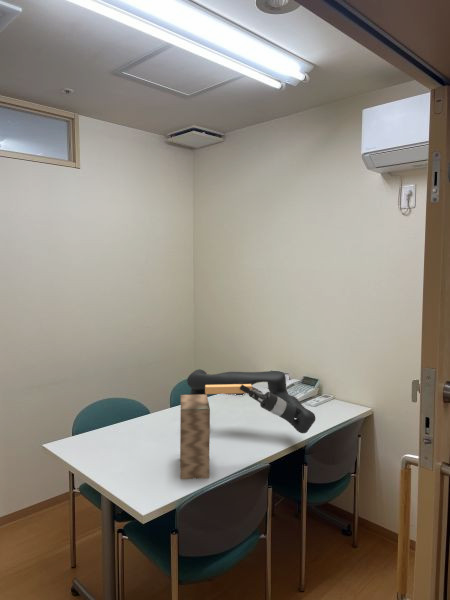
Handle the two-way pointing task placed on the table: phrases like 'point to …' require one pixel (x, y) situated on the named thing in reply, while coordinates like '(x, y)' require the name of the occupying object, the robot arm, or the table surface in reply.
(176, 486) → the table surface
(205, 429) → the stand
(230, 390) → the rod
